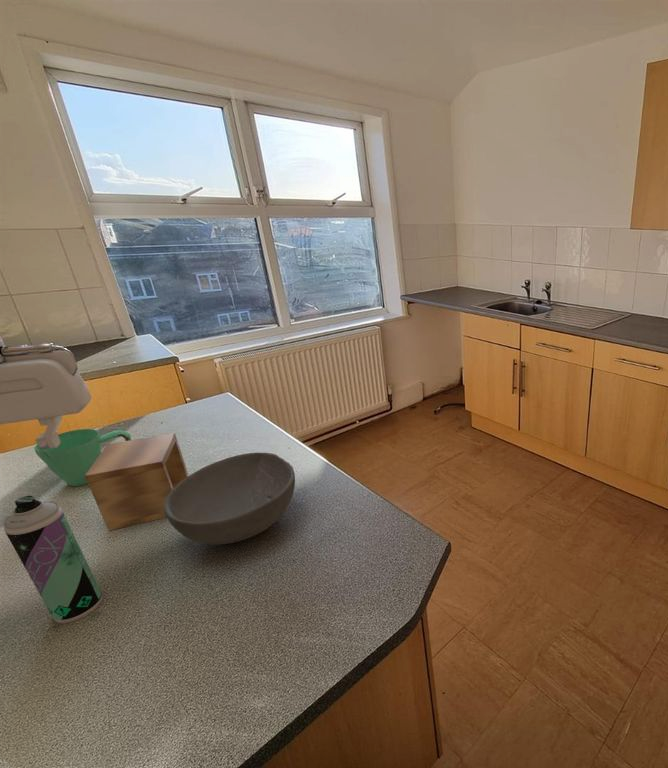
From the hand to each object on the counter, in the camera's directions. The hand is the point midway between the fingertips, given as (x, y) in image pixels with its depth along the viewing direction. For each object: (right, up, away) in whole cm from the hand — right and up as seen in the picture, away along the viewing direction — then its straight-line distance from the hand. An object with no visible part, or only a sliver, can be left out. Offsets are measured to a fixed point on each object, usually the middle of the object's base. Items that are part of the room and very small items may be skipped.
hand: (1, 455), depth 55 cm
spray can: (0, -25, +10) cm, 27 cm away
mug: (-27, -12, +41) cm, 51 cm away
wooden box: (-8, -15, +33) cm, 37 cm away
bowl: (+14, -18, +27) cm, 36 cm away
